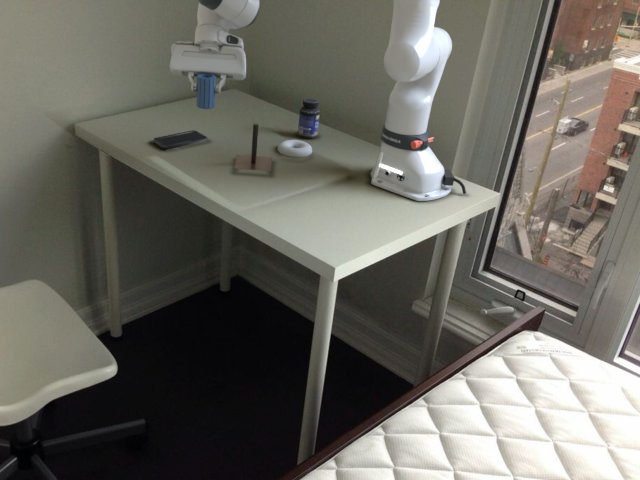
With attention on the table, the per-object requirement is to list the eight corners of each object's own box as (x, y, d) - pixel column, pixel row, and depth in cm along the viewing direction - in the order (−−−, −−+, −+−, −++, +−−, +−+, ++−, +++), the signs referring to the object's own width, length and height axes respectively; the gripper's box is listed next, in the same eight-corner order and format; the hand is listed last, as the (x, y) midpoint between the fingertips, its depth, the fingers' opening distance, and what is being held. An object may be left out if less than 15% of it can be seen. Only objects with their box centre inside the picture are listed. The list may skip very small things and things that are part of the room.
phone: (151, 138, 212) (194, 129, 220) (151, 142, 213) (194, 133, 220) (165, 147, 207) (209, 138, 214) (165, 151, 207) (208, 141, 215)
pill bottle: (317, 139, 221) (321, 104, 215) (297, 138, 221) (301, 103, 215) (316, 132, 226) (320, 97, 220) (297, 131, 226) (300, 96, 220)
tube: (218, 107, 192) (219, 77, 187) (203, 110, 189) (204, 79, 185) (207, 102, 195) (208, 72, 190) (193, 104, 192) (193, 74, 188)
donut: (274, 160, 206) (309, 163, 205) (275, 148, 205) (310, 152, 203) (280, 147, 215) (313, 151, 213) (280, 136, 213) (314, 139, 211)
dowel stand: (271, 162, 205) (274, 119, 198) (270, 176, 196) (274, 132, 190) (236, 159, 205) (238, 116, 198) (233, 173, 197) (236, 129, 190)
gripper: (170, 34, 189) (165, 82, 186) (248, 39, 188) (244, 88, 186) (173, 47, 195) (167, 94, 192) (248, 52, 195) (244, 99, 192)
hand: (205, 91), depth 189 cm, fingers closed on tube, 5 cm apart
